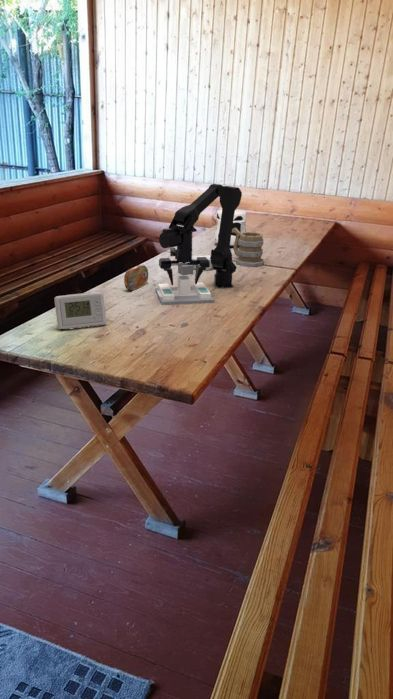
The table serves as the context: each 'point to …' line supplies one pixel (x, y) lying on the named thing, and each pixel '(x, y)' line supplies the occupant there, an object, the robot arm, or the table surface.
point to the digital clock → (80, 310)
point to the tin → (136, 277)
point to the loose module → (184, 285)
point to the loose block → (185, 269)
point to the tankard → (248, 248)
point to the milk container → (238, 223)
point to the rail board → (173, 297)
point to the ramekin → (194, 257)
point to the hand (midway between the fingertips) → (183, 284)
